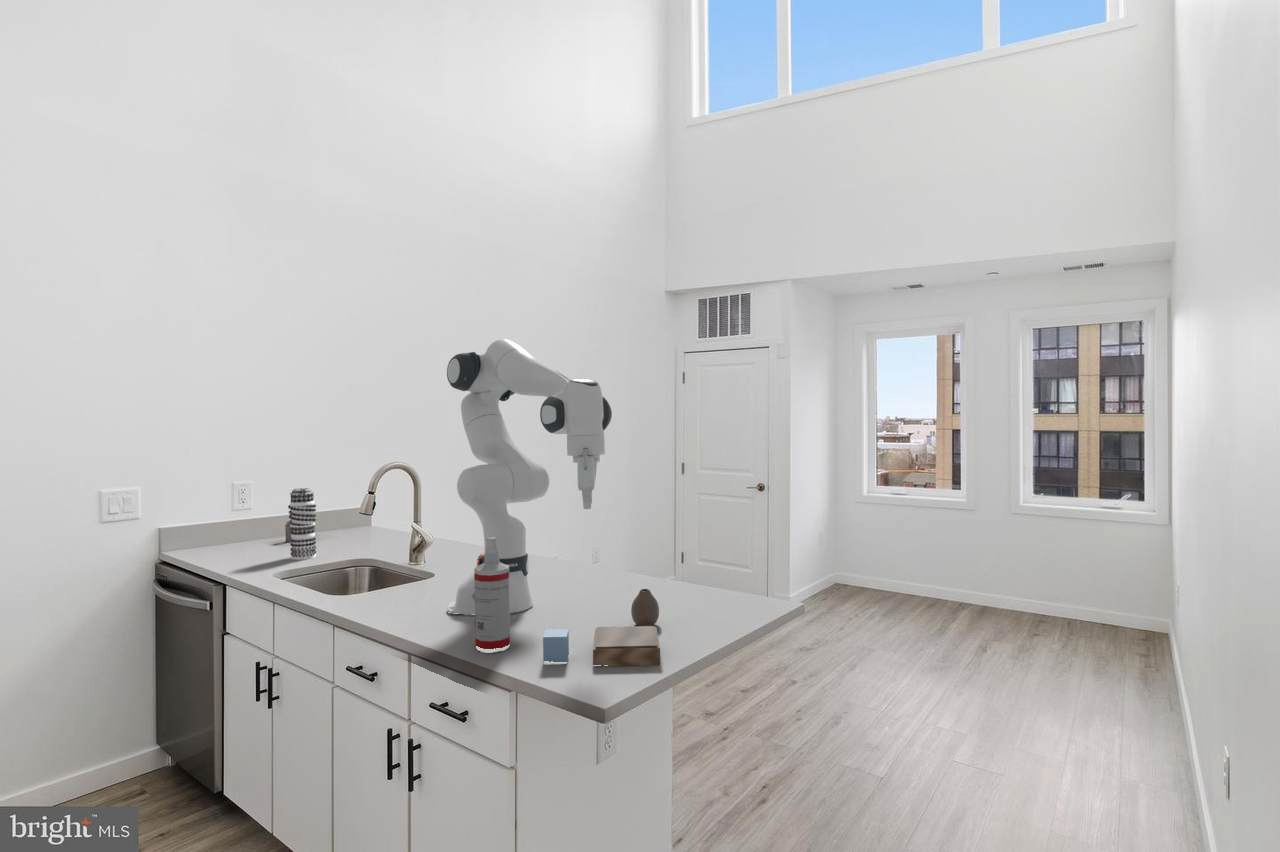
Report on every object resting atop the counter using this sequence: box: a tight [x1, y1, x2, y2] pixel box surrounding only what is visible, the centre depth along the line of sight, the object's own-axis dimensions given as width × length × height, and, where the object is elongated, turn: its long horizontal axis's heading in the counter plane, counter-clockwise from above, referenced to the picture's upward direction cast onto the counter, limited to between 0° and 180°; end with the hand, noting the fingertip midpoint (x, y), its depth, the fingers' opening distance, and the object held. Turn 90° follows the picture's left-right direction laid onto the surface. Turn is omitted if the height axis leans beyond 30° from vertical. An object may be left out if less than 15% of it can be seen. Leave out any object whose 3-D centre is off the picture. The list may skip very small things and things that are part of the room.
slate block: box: [542, 628, 570, 662], centre depth 150 cm, size 5×5×6 cm
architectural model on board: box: [284, 519, 316, 544], centre depth 289 cm, size 11×3×10 cm, turn 150°
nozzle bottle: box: [473, 537, 511, 649], centre depth 158 cm, size 8×8×25 cm
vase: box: [630, 588, 660, 626], centre depth 174 cm, size 7×7×9 cm
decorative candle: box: [287, 487, 317, 561], centre depth 255 cm, size 9×9×25 cm
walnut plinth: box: [592, 625, 661, 667], centre depth 153 cm, size 14×14×4 cm
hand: (587, 506), depth 165 cm, fingers open, 8 cm apart
